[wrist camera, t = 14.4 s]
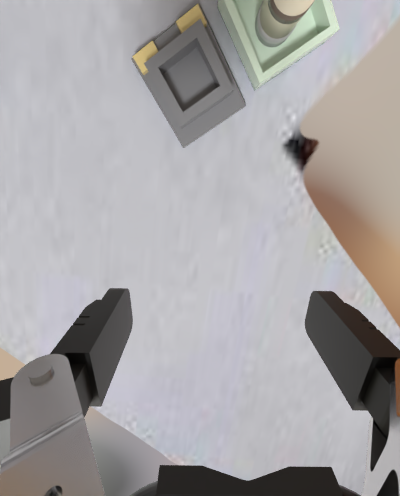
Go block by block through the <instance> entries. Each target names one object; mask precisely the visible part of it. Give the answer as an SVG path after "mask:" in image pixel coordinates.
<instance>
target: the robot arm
mask: <svg viewBox="0 0 400 496" xmlns="http://www.w3.org/2000/svg"><path fill="white" fill-rule="evenodd" d="M132 322H133V318H132V309H131V301H130V293H129V290H128V289H122V288H110V289H109V290H108V291H107V293H106V294H105V295H104V297H103V298H102V300H95V301H94V302H93V303H91V304H90V305H88V306H87V307H86V308H85V309H84V310H83V312H82V313H81V314H80V315H79V318H77V319H76V321H75V322H74V323H73V325H72V326H71V327H70V329H69V330H68V331H67V332H66V334H65V335H64V336H63V338H62V339H61V340H60V342H59V343H58V344H57V346H56V347H55V348H54V349H53V351H52V352H51V353H50V354H49V355H45V356H42V357H39V358H37V359H35V360H33V361H31V362H29V363H28V364H26V365H25V366H24V367H23V368H21V369H20V370H19V372H18V373H17V374H16V375H15V376H14V377H13V378H9V379H5V380H1V381H0V465H1V467H0V496H105V493H104V490H103V486H102V482H101V478H100V475H99V471H98V467H97V464H96V460H95V456H94V453H93V449H92V445H91V442H90V438H89V434H88V431H87V427H86V423H85V419H84V417H85V415H86V413H87V411H88V408H89V406H102V403H103V401H104V398H105V396H106V393H107V391H108V388H109V386H110V383H111V381H112V378H113V376H114V373H115V370H116V368H117V365H118V363H119V360H120V358H121V355H122V353H123V350H124V348H125V345H126V343H127V340H128V338H129V335H130V333H131V329H132ZM305 328H306V332H307V334H308V336H309V338H310V340H311V341H312V343H313V345H314V346H315V348H316V350H317V351H318V353H319V355H320V356H321V358H322V360H323V361H324V363H325V365H326V366H327V368H328V370H329V371H330V373H331V375H332V376H333V378H334V380H335V381H336V383H337V385H338V386H339V388H340V390H341V391H342V393H343V395H344V396H345V398H346V400H347V401H348V403H349V405H350V406H351V408H352V410H368V411H369V413H370V414H371V416H372V417H371V419H370V422H369V430H368V444H367V457H366V471H365V480H364V486H363V490H362V493H361V495H359V494H357V493H356V492H354V491H352V490H349V489H347V488H345V487H343V486H341V485H339V484H338V482H337V479H336V477H335V475H334V472H333V470H332V468H331V467H287V468H284V469H281V470H279V471H276V472H273V473H270V474H267V475H265V476H262V477H259V478H256V479H254V480H250V481H246V480H242V479H239V478H236V477H233V476H230V475H227V474H224V473H221V472H219V471H216V470H213V469H210V468H207V467H204V466H178V465H175V466H174V465H173V466H172V465H171V466H169V465H160V468H159V475H158V481H156V482H154V483H151V484H149V485H147V486H145V487H143V488H141V489H139V490H138V491H136V492H135V493H133V494H132V495H130V496H400V350H399V349H398V348H397V347H396V346H395V345H394V344H393V343H392V342H391V341H390V340H389V339H387V338H386V337H385V336H384V335H383V334H382V333H381V332H380V331H379V330H377V329H376V327H375V326H374V325H373V324H372V323H371V322H369V321H368V319H367V318H366V317H365V316H364V315H363V314H362V313H361V312H360V311H359V310H357V309H355V308H354V307H352V306H350V305H349V304H347V303H344V302H343V301H342V300H341V299H340V298H339V297H338V296H337V295H336V294H335V293H334V292H332V291H313V292H312V294H311V296H310V301H309V305H308V310H307V314H306V319H305Z"/></svg>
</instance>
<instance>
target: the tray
mask: <svg viewBox="0 0 400 496" xmlns="http://www.w3.org/2000/svg"><path fill="white" fill-rule="evenodd" d="M262 1H263V0H218V9H219V11H220V14H221V16H222V18H223V20H224V23H225V25H226V27H227V29H228V32H229V34H230V36H231V38H232V41H233V43H234V45H235V48H236V50H237V52H238V54H239V57H240V59H241V61H242V63H243V66H244V68H245V70H246V72H247V75H248V77H249V79H250V81H251V84H252V86H253V88H254V90H256V89H258V88H259V87H260V86H262V85H263V84H265V83H266V82H268V81H269V80H271V79H272V78H274V77H275V76H276V75H278V74H279V73H281V72H282V71H284V70H285V69H287V68H288V67H290V66H291V65H293V64H294V63H295V62H297V61H298V60H300V59H301V58H303V57H304V56H306V55H307V54H309V53H310V52H311V51H313V50H314V49H316V48H317V47H319V46H320V45H322V44H323V43H325V42H326V41H327V40H328V39H329V38H330V37H331V36H333V35H334V34H335V33H336V32H337V31H338V30H339V25H338V22H337V19H336V15H335V12H334V9H333V5H332V2H331V0H315V1H314V2H313V4H312V5H311V7H310V8H309V9H308V11H307V12H306V13H305V15H304V16H303V17H302V18H301V19H300V21H299V22H298V23H297V25H296V27H295V29H294V30H293V31H292V33H291V34H290V35H289V37H288V38H287V39H286V41H285V42H284V43H282V44H281V45H279V46H277V47H267V46H265V45H263V44H262V43H261V42H260V41H259V39H258V37H257V35H256V31H255V20H256V16H257V13H258V11H259V8H260V6H261V4H262Z"/></svg>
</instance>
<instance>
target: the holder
mask: <svg viewBox="0 0 400 496" xmlns="http://www.w3.org/2000/svg"><path fill="white" fill-rule="evenodd" d="M132 61H133V63H134V64H135V66H136V68H137V69H138V71H139V73H140V75H141V76H142V78H143V80H144V81H145V83H146V85H147V87H148V88H149V90H150V92H151V93H152V95H153V97H154V99H155V100H156V102H157V104H158V105H159V107H160V109H161V111H162V112H163V114H164V116H165V117H166V119H167V121H168V123H169V124H170V126H171V128H172V129H173V131H174V133H175V135H176V136H177V138H178V140H179V141H180V143H181V145H182V146H183V148H185V147H186V146H188V145H189V144H190V143H192V142H193V141H195V140H196V139H198V138H199V137H201V136H202V135H204V134H205V133H207V132H208V131H210V130H211V129H213V128H214V127H216V126H217V125H219V124H220V123H222V122H223V121H224V120H226V119H227V118H229V117H230V116H232V115H233V114H235V113H236V112H238V111H239V110H241V109H242V108H244V107H245V106H246V104H245V102H244V100H243V98H242V96H241V93H240V91H239V89H238V87H237V85H236V83H235V80H234V78H233V76H232V74H231V72H230V70H229V67H228V65H227V63H226V61H225V59H224V57H223V55H222V52H221V50H220V48H219V46H218V44H217V42H216V39H215V37H214V35H213V33H212V31H211V29H210V26H209V24H208V22H207V20H206V18H205V16H204V13H203V11H202V9H201V7H200V5H198V4H197V5H196V6H194V7H193V8H192V9H191V10H189V11H188V12H187V13H186V14H184V15H183V16H182V17H181V18H179V19H178V20H177V21H176V23H175V24H174V25H173V26H172V27H170V28H169V29H168V30H167V31H165V32H164V33H163V34H162V35H160V36H159V37H158V38H157V39H156V40H154V41H151V42H150V43H149V44H147V45H146V46H145V47H144V48H143V49H141V50H140V51H139V52H138V53H136V54H135V55H134V56H133V58H132Z"/></svg>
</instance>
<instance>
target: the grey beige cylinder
mask: <svg viewBox="0 0 400 496" xmlns="http://www.w3.org/2000/svg"><path fill="white" fill-rule="evenodd" d="M314 1H315V0H263V1H262V4H261V6H260V8H259V11H258V13H257V16H256V20H255V31H256V35H257V37H258V39H259V41H260V42H261V43H262V44H263V45H265V46H267V47H277V46H279V45H281V44H282V43H284V42H285V41H286V39H287V38H288V37H289V35H290V34H291V33H292V31H293V30H294V29H295V27H296V25H297V23H298V22H299V21H300V19H301V18H302V17H303V16H304V15H305V13H306V12H307V11H308V9H309V8H310V7H311V5H312V4H313V2H314Z"/></svg>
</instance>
